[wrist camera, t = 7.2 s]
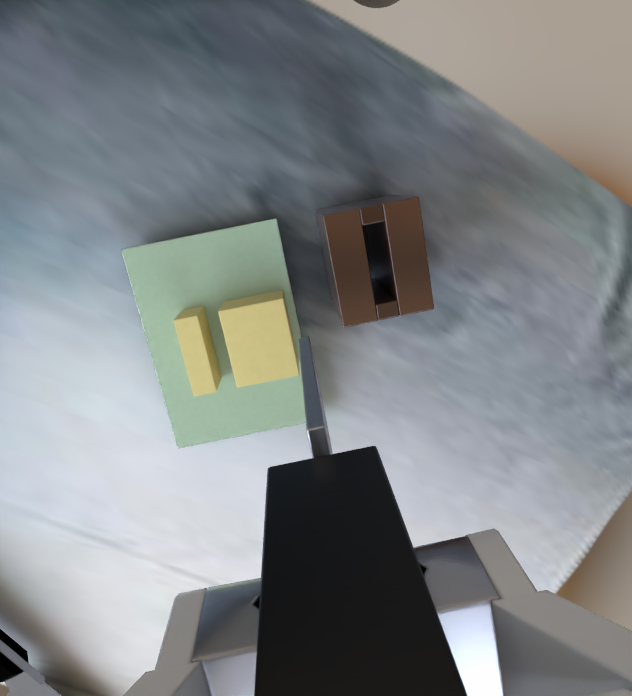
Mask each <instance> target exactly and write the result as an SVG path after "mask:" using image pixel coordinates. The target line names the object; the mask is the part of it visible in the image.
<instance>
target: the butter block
mask: <svg viewBox="0 0 632 696" xmlns="http://www.w3.org/2000/svg"><path fill="white" fill-rule="evenodd" d="M218 313H219V317H220V321H221V325H222V329H223V333H224V338H225V342H226V346H227V350H228V354H229V358H230V362H231V366H232V370H233V374H234V378H235V382H236V386H237V388H239V387H244V386H249V385H254V384H259V383H264V382H269V381H274V380H279V379H284V378H289V377H294V376H299V361H298V356H297V352H296V347H295V342H294V337H293V333H292V328H291V323H290V318H289V314H288V309H287V304H286V299H285V295H284V291H283V290H280V291H275V292H270V293H265V294H260V295H255V296H250V297H245V298H240V299H235V300H230V301H225V302H223V304H222V306H221V307H220V309H219V311H218Z"/></svg>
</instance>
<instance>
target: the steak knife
mask: <svg viewBox="0 0 632 696" xmlns="http://www.w3.org/2000/svg"><path fill="white" fill-rule="evenodd" d="M44 681H45V677H44V676H43V675H42V674H40V673H39V672H38V671H37V670H36V669H35V668H33V667H32V666H31V665H30V664H29V663H28V656H27V651H26V650H25V649H23V648H22V647H21V646H20V645H19V644H18V643H16V642H15V641H14V640H13V639H12V638H10V637H9V636H8V635H7V634H6V633H4V632H3V631H2V630H1V629H0V682H5V683H6V685H7V686H8V688H9V690H10V691H9V693H8V694H7V696H62V695H60V694H59V693H58V692H57V691H55V690H54V689H53V688H52V687H51V686H49V685H48V684H47V683H46V682H44Z"/></svg>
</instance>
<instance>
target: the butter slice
mask: <svg viewBox="0 0 632 696" xmlns="http://www.w3.org/2000/svg"><path fill="white" fill-rule="evenodd" d="M173 322H174V326H175V329H176V333H177V337H178V340H179V344H180V348H181V352H182V355H183V359H184V363H185V366H186V370H187V374H188V377H189V381H190V385H191V389H192V392H193V396H199V395H204V394H209V393H214V392H217V390H218V387H219V384H220V381H221V378H222V374H221V371H220V367H219V363H218V359H217V355H216V351H215V347H214V343H213V339H212V335H211V331H210V327H209V323H208V319H207V315H206V311H205V307H204V306H200V307H195V308H190V309H185V310H182V311H181V312H180V313H179V314H178V315H177V316H176V318H175V319H174V320H173Z"/></svg>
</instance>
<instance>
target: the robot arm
mask: <svg viewBox="0 0 632 696" xmlns="http://www.w3.org/2000/svg"><path fill="white" fill-rule="evenodd" d="M413 548H414V551H415V554H416V556H417V559H418V562H419V564H420V567H421V570H422V573H423V575H424V578H425V581H426V584H427V586H428V589H429V592H430V594H431V597H432V600H433V603H434V605H435V608H436V611H437V614H438V616H439V619H440V622H441V624H442V627H443V630H444V633H445V635H446V638H447V641H448V644H449V646H450V649H451V652H452V654H453V657H454V660H455V663H456V665H457V668H458V671H459V673H460V676H461V679H462V682H463V684H464V687H465V690H466V693H467V695H468V696H632V631H631V630H628V629H627V628H625V627H622V626H620V625H618V624H616V623H614V622H612V621H610V620H608V619H606V618H604V617H602V616H600V615H597V614H595V613H593V612H591V611H589V610H587V609H585V608H583V607H581V606H579V605H577V604H574V603H573V602H571V601H568V600H566V599H564V598H562V597H560V596H558V595H556V594H554V593H552V592H550V591H548V590H544V591H539V592H537V590H536V589H535V587H534V585H533V584H532V582H531V581H530V579H529V578H528V576H527V575H526V573H525V572H524V570H523V568H522V567H521V565H520V564H519V562H518V561H517V559H516V558H515V556H514V555H513V553H512V551H511V550H510V548H509V547H508V545H507V544H506V542H505V541H504V539H503V538H502V536H501V535H500V533H499V531H497V530H495V529H490V530H486V531H481V532H477V533H473V534H469V535H465V536H464V537H460V538H455V539H450V540H446V541H441V542H437V543H432V544H427V545H423V546H418V547H413ZM260 588H261V578H258V579H253V580H247V581H241V582H236V583H230V584H225V585H219V586H214V587H209V588H208V589H207V588H204V589H199V590H194V591H189V592H184V593H179V594H178V595H177V596H176V598H175V599H174V602H173V606H172V609H171V613H170V616H169V620H168V624H167V627H166V631H165V635H164V638H163V642H162V645H161V649H160V653H159V656H158V660H157V664H156V667H155V670H153V671H149V672H145V673H144V674H143V675H142V676H141V678H140V679H139V680H138V681H137V682H136V683H135V684H134V685H133V686H132V687H131V688H130V689H129V690H128V691H127V692H126V693H125V694H124V695H123V696H254V689H255V672H256V655H257V639H258V622H259V605H260Z"/></svg>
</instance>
